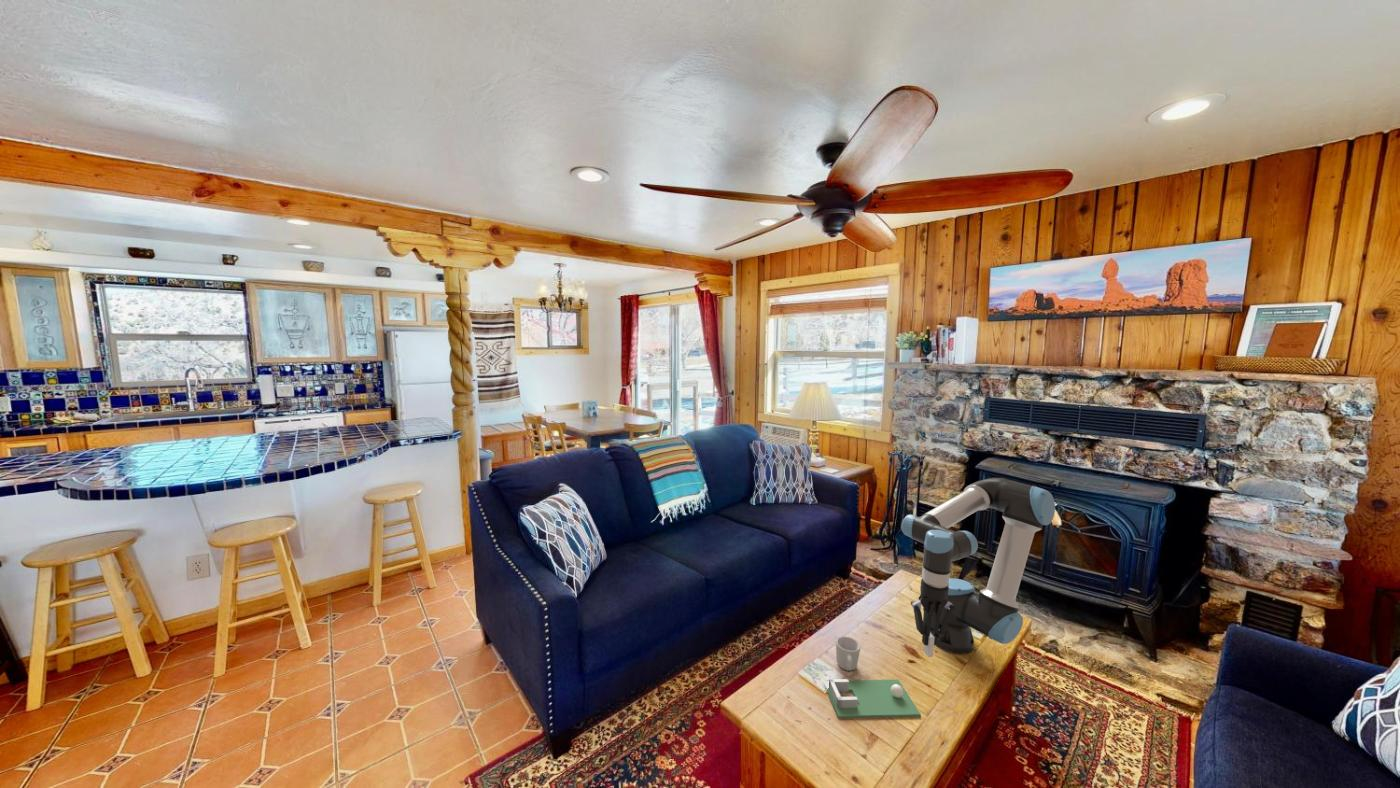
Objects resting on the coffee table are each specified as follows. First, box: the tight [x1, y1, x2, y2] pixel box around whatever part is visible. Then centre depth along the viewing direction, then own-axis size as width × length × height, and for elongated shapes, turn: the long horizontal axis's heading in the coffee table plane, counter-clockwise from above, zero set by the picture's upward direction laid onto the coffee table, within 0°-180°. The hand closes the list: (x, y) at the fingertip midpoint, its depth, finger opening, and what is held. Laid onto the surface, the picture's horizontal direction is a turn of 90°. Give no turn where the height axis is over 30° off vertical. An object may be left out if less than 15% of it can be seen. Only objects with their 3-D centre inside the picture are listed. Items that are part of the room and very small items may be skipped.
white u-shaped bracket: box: [828, 678, 858, 708], centre depth 142 cm, size 6×8×4 cm
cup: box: [835, 635, 861, 671], centre depth 155 cm, size 11×8×8 cm
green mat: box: [826, 679, 922, 719], centre depth 142 cm, size 25×14×1 cm, turn 93°
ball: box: [891, 684, 903, 698], centre depth 143 cm, size 4×4×4 cm
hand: (927, 653), depth 142 cm, fingers closed
